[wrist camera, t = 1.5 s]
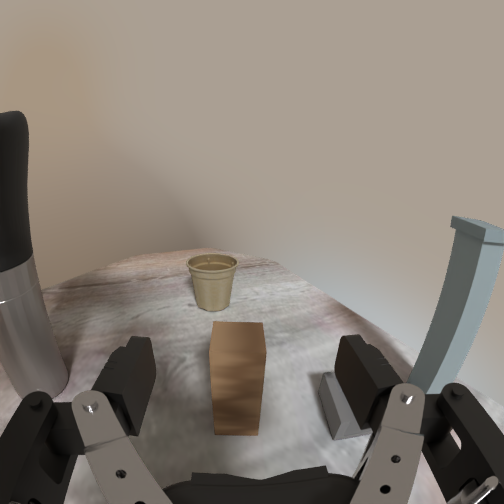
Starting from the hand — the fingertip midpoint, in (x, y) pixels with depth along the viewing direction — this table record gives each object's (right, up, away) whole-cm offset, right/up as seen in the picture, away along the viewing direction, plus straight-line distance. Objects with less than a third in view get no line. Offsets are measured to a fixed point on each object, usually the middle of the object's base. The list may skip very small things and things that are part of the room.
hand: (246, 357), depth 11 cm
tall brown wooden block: (-1, -14, +16) cm, 21 cm away
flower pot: (-7, -6, +42) cm, 43 cm away
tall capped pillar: (+17, -15, +17) cm, 28 cm away
